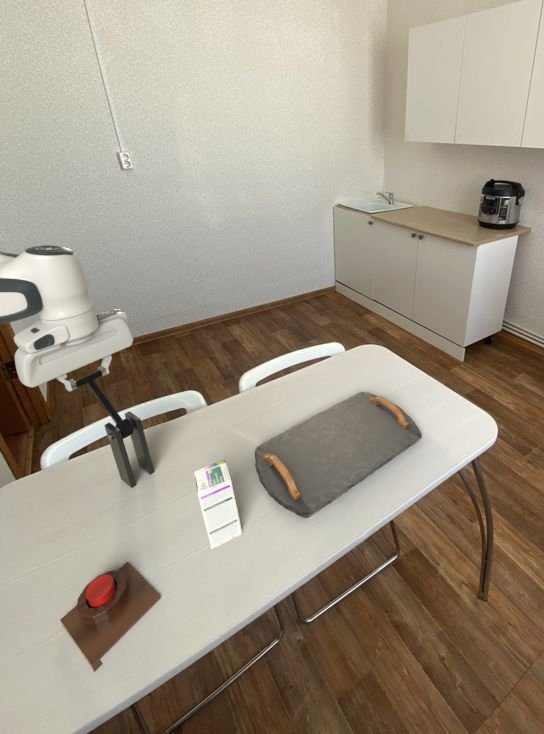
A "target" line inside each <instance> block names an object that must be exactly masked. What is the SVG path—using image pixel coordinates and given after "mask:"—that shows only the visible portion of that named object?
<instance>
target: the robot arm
mask: <svg viewBox="0 0 544 734" xmlns="http://www.w3.org/2000/svg"><path fill="white" fill-rule="evenodd" d="M88 283H89V282H88V280H87V277H86V273H85V270H84V268H83V266H82V263H81V261H80V258H79V257H78V255H77V254H76V253H75V251H73V250H72V249H70V248H68V247H64V246H62V245H53V244H51V245H49V244H48V245H46V244H45V245H34V246H31V247H28V248H26V249H24V250H23V252H22V253H19V254H18V253H10V252H5V251H0V325H5V324H9V323H13V322H17V321H21V320H24V319H27V318H29V317H32V316H34V315H38V317H39V320H37V321H36V322H34V323H32V324H31V325H30V326H28V327H27V328H24V329H23V330H21V331H20V332H18V333H16V334H15V335H14V336H13V341H14V343H15V345H16V347H18V348H17V350H16V351H15V353H14V363H15V369H16V374H17V376H18V380H19V381H20V383H21V384H22V385H24V386H25V387H29V388H35V387H38V386H40V385H43V384H45V383H47V382H51V381H52V380H54V379H56V380H57V381H58V382H60V383H62V384H63V385H64V388H65V390H66V391H68V392H72V391H75V390H76V389H78V388H77V386H76V382H75V381H76V380H74V379H73V378H71V379H68V375H67V374H69V373H71V372H73V371H75V370H78V369H81V368H83V367H85V366H87V365H89V364H92V363H94V362H97V361H99V360H101V359H102V361H101V364H100V366H98V367H97V371H100V372H101V374H102V377H104V376H107V375H109V374H110V370H109V369H110V368H109V367H110V364H111V362H112V359H113V358H112V355H113V354H115V353H117V352H121V351H122V350H125V349H127V348H129V347H131V346H132V345H133V342H134V337H133V333H132V331H131V329H130V327H129V325H128V317H127V313H126V311H125V310H122V309H118V308H114V309H110V310H109V311H105V312H102V313H99V314H97V313H96V309H95V305H94V302H93V301H92V300H91V297H90V296H89V284H88ZM67 379H68V380H67Z"/></svg>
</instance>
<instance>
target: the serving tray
mask: <svg viewBox="0 0 544 734" xmlns="http://www.w3.org/2000/svg"><path fill="white" fill-rule="evenodd" d="M422 438H423V435H422V432H421V430H420V428H419V427H418V425H417V424H416V422H415V421H414V419H413V418H412V417H411V416H410V415H408V414H407V413H406V412H405V410H404V409H403V408H401V407H400V406H398V405H397V404H395V403H394V402H392V401H390V400H389V399H387V398H386V397H384V396H381V395H376V394H374V393H370V392H368V391H367V392H366V391H361V392H358V393H356V394H354V395H352V396H350V397H349V398H347V399H345V400H343V401H340V402H339V403H337V404H334V405H333V406H332V407H330V408H328V409H326V410H324V411H322V412H319V413H317V414H315V415H312V416H311V417H310V418H308V419H306V420H304V421H302V422H301V423H298V424H296V425H293V426H291V427H290V428H289V429H287V430H285V431H284V432H282V433H279V434H278V435H277V436H276V435H275V436H273V437H272V438H270V439H269V440H267V441H265V442H262V443H261V444H259V445H258V446H257V447H256V448H255V450H254V459H255V464H254V466H255V470H256V474H257V475H258V480H259V482H260V484H261V485H262V486H263V488H264V490H265V492H267V495H269V497H270V498H272V499H273V500H274V501H275V502H276V503H277V504H279V505H280V506H282V507H283V508H284V509H285V510H288V511H290V512H291V513H293V514H295V515H297V516H298V517H300V518H304V519H308V518H311V517H313V516H314V515H315V514H317V513H318V512H319V511H321V510H323V508H326V506H328V505H330V504H331V503H333V502H334V501H335V500H336V499H338V498H339V497H341V496H342V495H344V494H346V493H348V491H349V490H351V489H352V488H353V487H355V486H357V485H358V484H359V483H361V482H363V481H364V480H365V479H367V478H368V477H369V476H370V475H372V474H374V473H375V472H376V471H378V470H379V469H381V468H382V467H383V466H385V465H387V464H388V463H389V462H391V461H392V460H394V459H395V458H396V457H398V456H399V455H400V454H403V452H405V451H406V450H408V449H409V448H410V447H412V446H413V445H415V444H416V443H418V442H419V441H420V440H421V439H422Z"/></svg>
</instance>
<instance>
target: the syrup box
mask: <svg viewBox="0 0 544 734" xmlns="http://www.w3.org/2000/svg"><path fill="white" fill-rule="evenodd" d="M193 475H194V483H195V489H196V493H197V497H198V502H199V504H200V505H199V506H200V510H201V514H202V518H203V523H204V526H205V531H206V535H207V539H208V542H209V547H210V549H211V550H212V549H214V548H217V547H220V546H221V545H223V544H225V543H227V542H229V541H231V540H233V539H236V538H237V537H239V536H242V534H243V529H242V524H241V519H240V514H239V509H238V505H237V503H238V502H237V499H236V495H235V490H234V486H233V482H232V478H231V474H230V471H229V468H228V464H227V460H226V459H222V460H219V461H216V462H214V463H211V464H209V465H206V466H204V467H202V468H200V469H198V470H195V471H193Z"/></svg>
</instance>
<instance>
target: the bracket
mask: <svg viewBox="0 0 544 734" xmlns="http://www.w3.org/2000/svg"><path fill="white" fill-rule="evenodd" d="M124 417H125V419H126V418H127V419H128V420H129V422H130V423H131V424H132V426H133V427H134V431H133V433H132V434H131V435H130V438H131V442H132V445H133V449H134V452H135V456H136V460H137V463H138V466H139V467H140V469H142V470H143V471H144V472H146V473H147V474H148V475H149V476H151V475H153V474H154V473H155V469H154V465H153V460H152V457H151V454H150V453H151V452H150V450H149V446H148V442H147V439H146V435H145V431H144V428H143V427H144V426H143V424H142V420H141V417H139V416H137V415H136V414H134V413H133V412H131V411H130V410H128V411H126V412H125V413H124ZM115 426H116V425H114V424H113V423H111V422H108V423H105V424H104V426H103V427H104V428H105V429H104V430H105V432H106V435H107V439H108V442H109V445H110V448H111V452H112V454H113V459H114V461H115V464H116V468H117V471H118V474H119V477H120V480H121V481H122V482H124V484H126V485H127V486H128V487H129V488H131V489H133V488H135V486H137V482H136V479H135V476H134V472H133V469H132V466H131V462H130V459H129V456H128V452H127V448H126V445H125V441H124V439H123V438H122V434H121V431H120V430H119V429H118V428H116V427H115Z"/></svg>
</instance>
